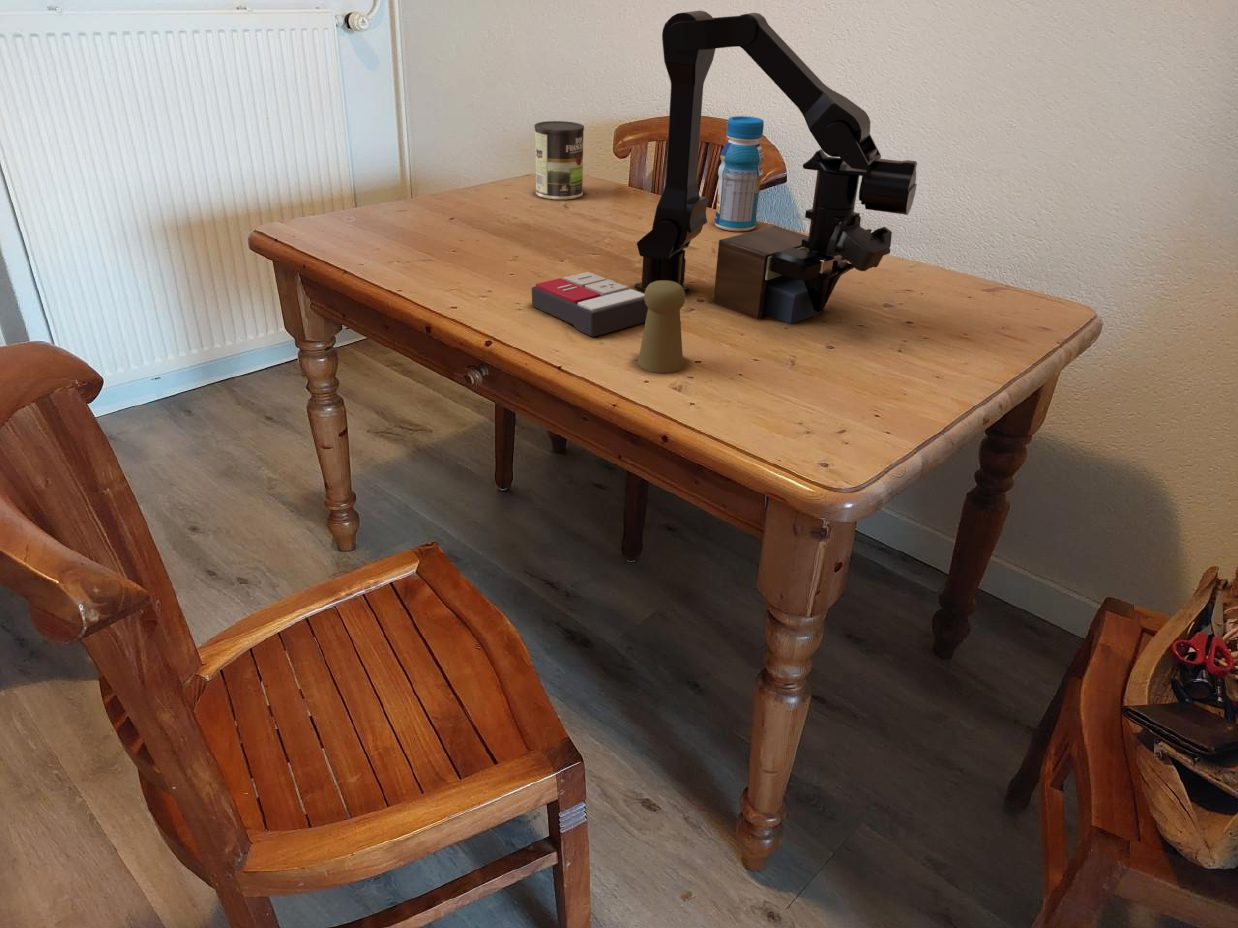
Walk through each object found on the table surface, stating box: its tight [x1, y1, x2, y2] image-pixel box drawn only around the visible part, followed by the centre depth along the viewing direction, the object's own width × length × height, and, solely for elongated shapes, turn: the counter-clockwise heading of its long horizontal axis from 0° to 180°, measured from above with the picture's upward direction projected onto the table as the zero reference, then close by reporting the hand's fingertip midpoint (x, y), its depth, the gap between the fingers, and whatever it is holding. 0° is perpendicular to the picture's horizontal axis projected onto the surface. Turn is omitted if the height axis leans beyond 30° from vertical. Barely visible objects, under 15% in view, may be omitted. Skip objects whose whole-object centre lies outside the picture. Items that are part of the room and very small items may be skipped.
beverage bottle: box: [714, 115, 765, 232], centre depth 167 cm, size 8×8×20 cm
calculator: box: [531, 271, 648, 337], centre depth 129 cm, size 11×4×15 cm
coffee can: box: [534, 120, 585, 201], centre depth 185 cm, size 10×10×14 cm
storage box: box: [762, 275, 824, 325], centre depth 134 cm, size 8×12×5 cm
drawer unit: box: [712, 225, 809, 320], centre depth 134 cm, size 13×9×10 cm
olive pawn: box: [637, 280, 686, 374], centre depth 113 cm, size 6×6×11 cm
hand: (818, 311), depth 129 cm, fingers closed, pressing on storage box
